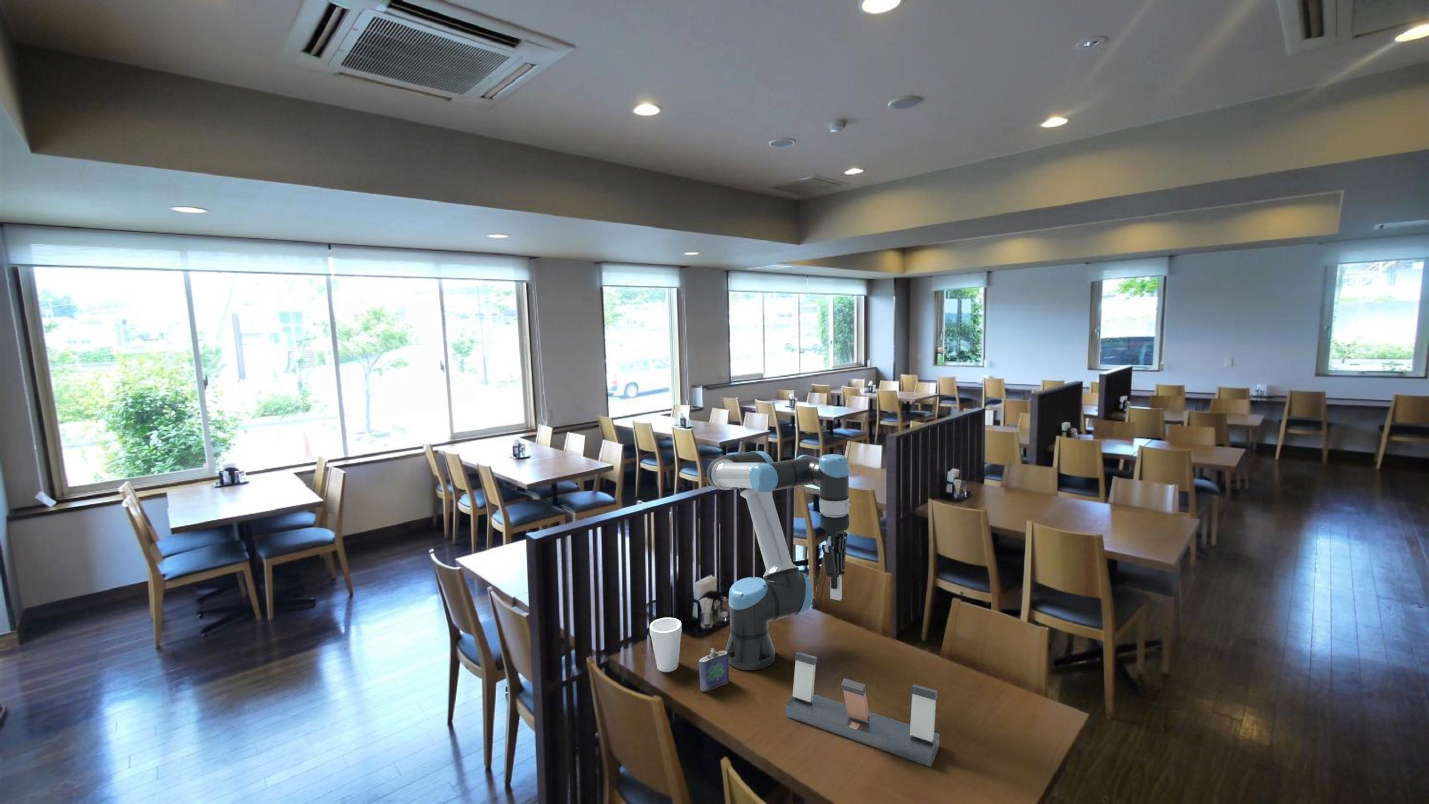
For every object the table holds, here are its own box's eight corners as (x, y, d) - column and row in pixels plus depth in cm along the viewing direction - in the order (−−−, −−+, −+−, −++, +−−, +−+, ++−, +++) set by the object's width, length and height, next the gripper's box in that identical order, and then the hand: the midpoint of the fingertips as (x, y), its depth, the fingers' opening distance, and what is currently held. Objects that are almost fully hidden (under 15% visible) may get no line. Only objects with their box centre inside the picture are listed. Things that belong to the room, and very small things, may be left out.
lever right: (910, 732, 138) (913, 684, 140) (934, 740, 135) (937, 690, 137) (908, 735, 137) (911, 686, 138) (932, 743, 134) (935, 692, 135)
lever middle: (849, 710, 147) (843, 678, 143) (870, 717, 144) (865, 684, 140) (846, 717, 145) (840, 684, 141) (868, 724, 142) (862, 691, 138)
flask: (702, 693, 162) (701, 656, 161) (697, 688, 165) (696, 652, 164) (731, 682, 167) (729, 646, 166) (725, 677, 170) (724, 642, 169)
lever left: (794, 695, 155) (798, 651, 156) (813, 701, 152) (817, 657, 153) (791, 697, 153) (795, 653, 154) (810, 703, 150) (814, 658, 151)
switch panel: (799, 699, 158) (798, 688, 157) (939, 745, 138) (939, 733, 138) (785, 716, 151) (785, 704, 151) (931, 767, 131) (931, 753, 131)
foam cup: (678, 676, 171) (676, 633, 170) (648, 673, 173) (645, 631, 172) (686, 658, 181) (684, 618, 179) (657, 656, 182) (655, 616, 181)
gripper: (839, 522, 149) (840, 611, 151) (856, 508, 159) (857, 592, 162) (811, 518, 153) (813, 605, 155) (830, 505, 164) (832, 586, 166)
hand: (836, 598), depth 159 cm, fingers closed
